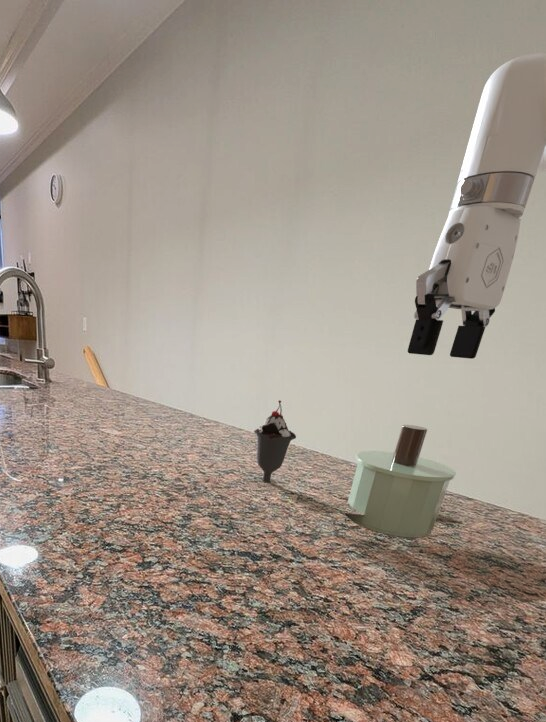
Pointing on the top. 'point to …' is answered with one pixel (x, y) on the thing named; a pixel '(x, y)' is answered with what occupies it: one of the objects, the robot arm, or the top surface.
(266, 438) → the sundae
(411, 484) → the canister
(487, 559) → the top surface
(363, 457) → the lid
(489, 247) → the robot arm
